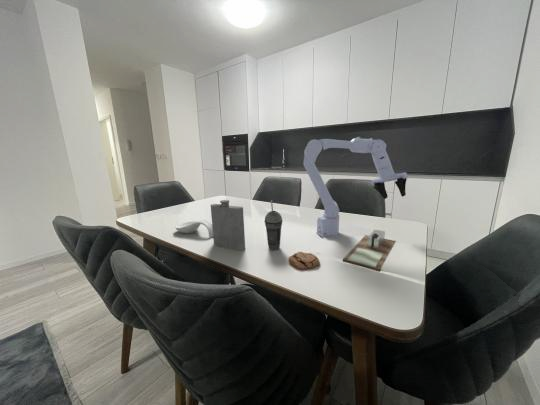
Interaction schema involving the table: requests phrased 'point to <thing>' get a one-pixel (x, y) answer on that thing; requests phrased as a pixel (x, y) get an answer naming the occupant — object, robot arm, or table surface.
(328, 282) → the table surface
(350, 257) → the stand
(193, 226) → the white curved piece
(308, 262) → the cookie
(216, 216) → the hip flask
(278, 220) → the beverage cup
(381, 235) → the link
